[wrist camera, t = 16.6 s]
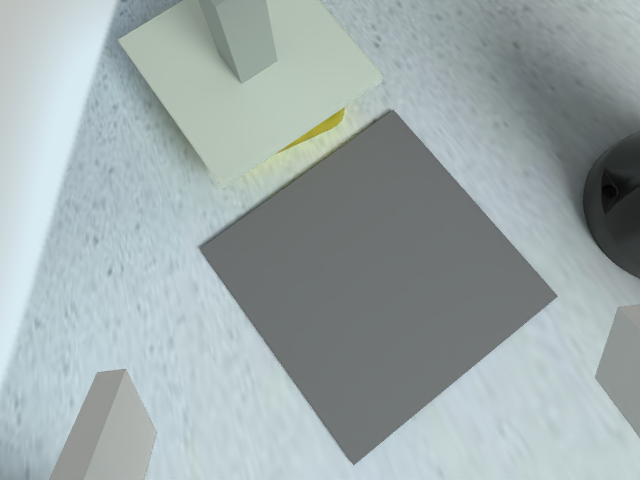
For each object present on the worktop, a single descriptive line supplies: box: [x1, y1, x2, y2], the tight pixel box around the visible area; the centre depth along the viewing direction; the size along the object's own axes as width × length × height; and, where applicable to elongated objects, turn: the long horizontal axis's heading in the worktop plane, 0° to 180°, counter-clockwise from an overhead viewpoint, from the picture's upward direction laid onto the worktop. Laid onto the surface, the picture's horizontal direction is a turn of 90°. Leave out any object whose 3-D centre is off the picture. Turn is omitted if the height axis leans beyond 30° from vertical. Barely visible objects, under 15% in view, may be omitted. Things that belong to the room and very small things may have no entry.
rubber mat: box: [200, 110, 558, 465], centre depth 43 cm, size 24×24×1 cm
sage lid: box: [118, 0, 383, 189], centre depth 38 cm, size 18×18×11 cm
